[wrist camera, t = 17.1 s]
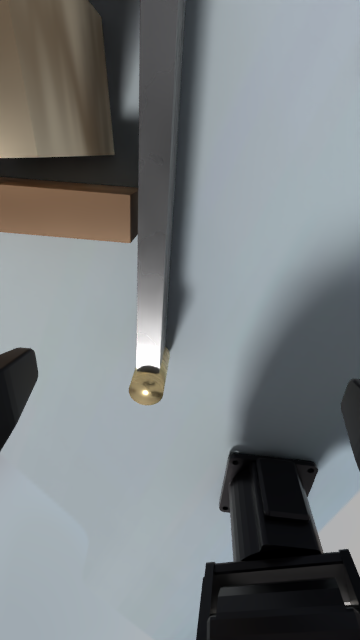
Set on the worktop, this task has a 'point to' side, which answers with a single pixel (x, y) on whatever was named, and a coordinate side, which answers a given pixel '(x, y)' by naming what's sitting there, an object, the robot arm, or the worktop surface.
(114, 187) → the walnut cradle
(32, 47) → the birch block
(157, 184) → the bar
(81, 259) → the worktop surface
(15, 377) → the robot arm
